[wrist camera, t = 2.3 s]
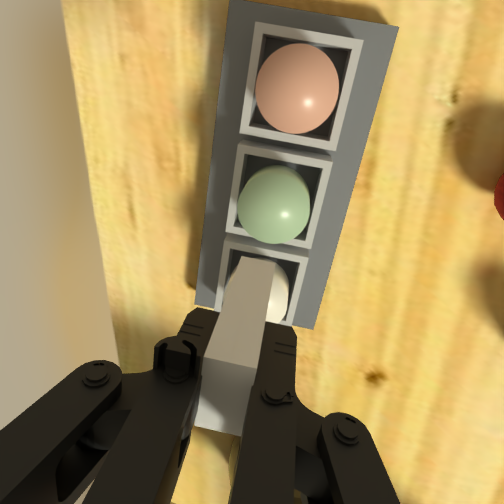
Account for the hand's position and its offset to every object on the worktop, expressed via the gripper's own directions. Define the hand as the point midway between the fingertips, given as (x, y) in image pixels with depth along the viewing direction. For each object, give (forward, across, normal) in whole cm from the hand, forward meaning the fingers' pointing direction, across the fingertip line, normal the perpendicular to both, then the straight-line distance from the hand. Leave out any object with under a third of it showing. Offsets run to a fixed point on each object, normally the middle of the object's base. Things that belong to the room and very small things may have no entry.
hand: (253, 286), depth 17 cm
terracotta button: (+15, 0, -8) cm, 17 cm away
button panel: (+19, 0, 0) cm, 19 cm away
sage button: (+15, 0, 0) cm, 15 cm away
